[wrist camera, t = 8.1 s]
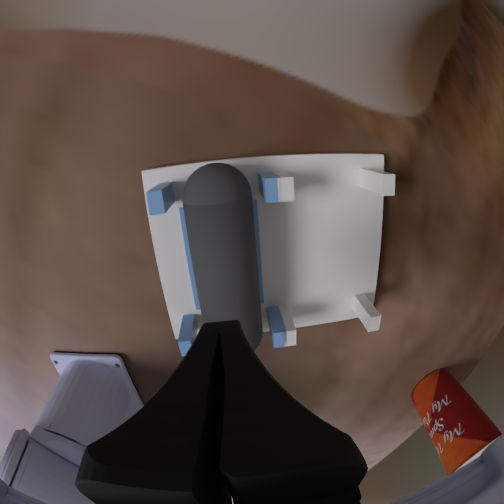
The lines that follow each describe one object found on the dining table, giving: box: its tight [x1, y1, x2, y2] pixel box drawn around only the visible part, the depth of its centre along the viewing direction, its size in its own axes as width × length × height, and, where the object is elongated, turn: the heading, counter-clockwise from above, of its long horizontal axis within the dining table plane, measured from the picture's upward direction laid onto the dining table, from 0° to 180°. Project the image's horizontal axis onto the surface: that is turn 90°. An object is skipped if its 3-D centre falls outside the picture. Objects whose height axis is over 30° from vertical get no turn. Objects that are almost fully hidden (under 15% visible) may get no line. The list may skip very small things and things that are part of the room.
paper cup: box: [411, 369, 503, 475], centre depth 21 cm, size 8×8×14 cm
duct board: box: [142, 153, 395, 356], centre depth 17 cm, size 12×15×4 cm
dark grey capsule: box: [182, 163, 263, 351], centre depth 16 cm, size 12×4×4 cm, turn 5°
